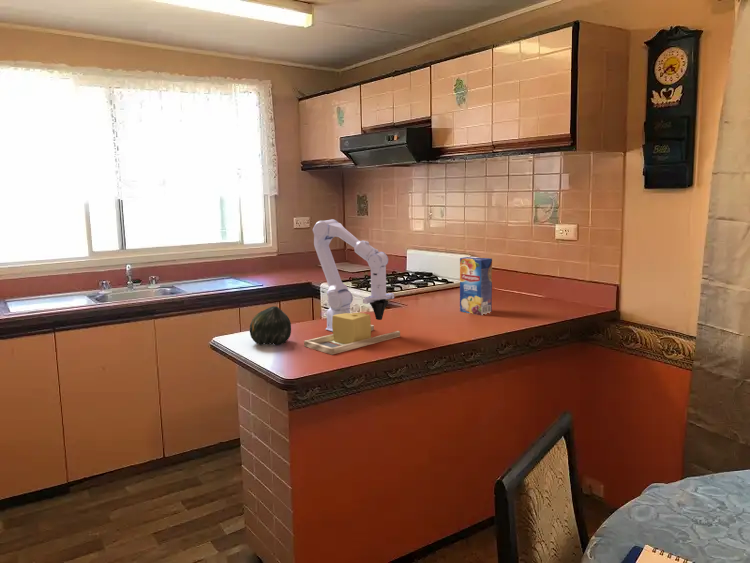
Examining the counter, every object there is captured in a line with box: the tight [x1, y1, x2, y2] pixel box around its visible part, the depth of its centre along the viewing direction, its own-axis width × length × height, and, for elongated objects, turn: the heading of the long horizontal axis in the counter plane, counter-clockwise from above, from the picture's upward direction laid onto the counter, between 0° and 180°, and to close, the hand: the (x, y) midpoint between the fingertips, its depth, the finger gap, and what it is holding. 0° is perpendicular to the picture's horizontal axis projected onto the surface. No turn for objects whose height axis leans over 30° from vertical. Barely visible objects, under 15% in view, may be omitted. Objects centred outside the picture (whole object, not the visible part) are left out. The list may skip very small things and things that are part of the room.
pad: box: [328, 340, 345, 346], centre depth 224 cm, size 13×12×1 cm
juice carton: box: [459, 256, 493, 316], centre depth 267 cm, size 12×8×24 cm, turn 42°
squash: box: [249, 305, 292, 346], centre depth 222 cm, size 14×15×15 cm
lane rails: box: [303, 324, 401, 355], centre depth 224 cm, size 16×33×2 cm, turn 133°
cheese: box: [332, 312, 372, 344], centre depth 223 cm, size 10×11×10 cm
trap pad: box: [319, 341, 340, 348], centre depth 217 cm, size 13×8×1 cm, turn 43°
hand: (379, 319), depth 232 cm, fingers closed
